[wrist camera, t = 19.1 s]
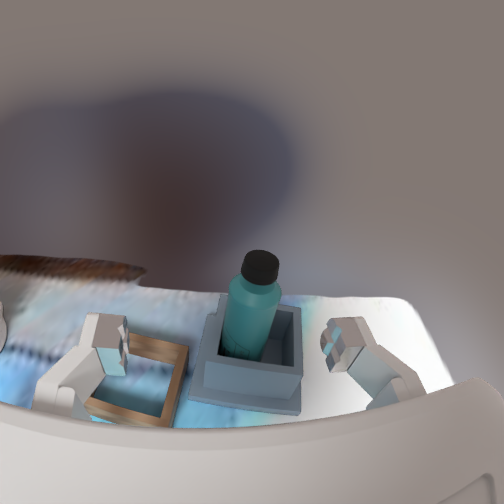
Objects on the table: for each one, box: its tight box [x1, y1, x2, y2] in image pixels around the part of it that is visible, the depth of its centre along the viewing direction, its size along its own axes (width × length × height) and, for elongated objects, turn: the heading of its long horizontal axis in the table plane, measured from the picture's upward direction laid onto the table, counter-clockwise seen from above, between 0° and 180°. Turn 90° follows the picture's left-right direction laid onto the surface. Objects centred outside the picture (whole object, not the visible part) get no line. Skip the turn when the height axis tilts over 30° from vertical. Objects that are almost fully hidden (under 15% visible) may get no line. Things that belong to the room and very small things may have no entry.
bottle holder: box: [188, 294, 303, 416], centre depth 44 cm, size 16×16×8 cm
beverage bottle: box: [218, 250, 281, 362], centre depth 40 cm, size 6×7×20 cm
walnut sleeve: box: [83, 332, 189, 428], centre depth 39 cm, size 13×13×4 cm
